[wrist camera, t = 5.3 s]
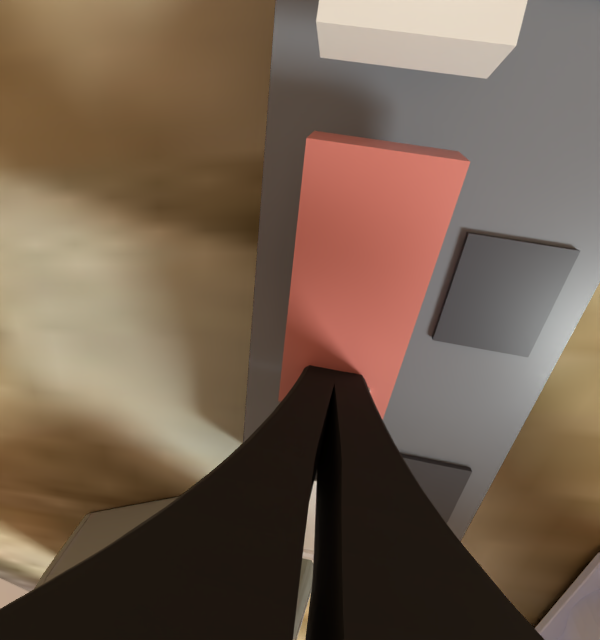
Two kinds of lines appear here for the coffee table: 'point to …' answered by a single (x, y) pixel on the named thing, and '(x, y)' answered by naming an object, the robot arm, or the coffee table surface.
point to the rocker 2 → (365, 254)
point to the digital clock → (117, 522)
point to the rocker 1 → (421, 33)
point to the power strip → (453, 231)
